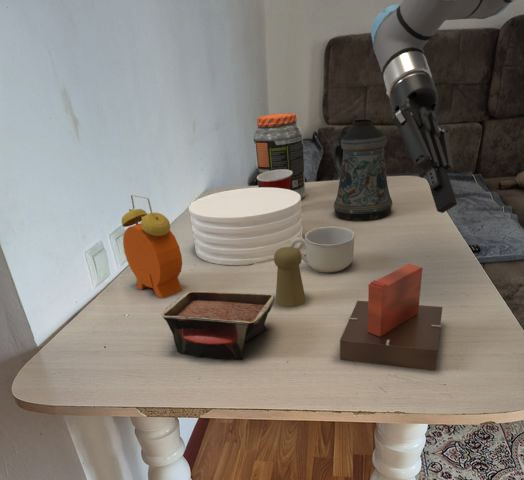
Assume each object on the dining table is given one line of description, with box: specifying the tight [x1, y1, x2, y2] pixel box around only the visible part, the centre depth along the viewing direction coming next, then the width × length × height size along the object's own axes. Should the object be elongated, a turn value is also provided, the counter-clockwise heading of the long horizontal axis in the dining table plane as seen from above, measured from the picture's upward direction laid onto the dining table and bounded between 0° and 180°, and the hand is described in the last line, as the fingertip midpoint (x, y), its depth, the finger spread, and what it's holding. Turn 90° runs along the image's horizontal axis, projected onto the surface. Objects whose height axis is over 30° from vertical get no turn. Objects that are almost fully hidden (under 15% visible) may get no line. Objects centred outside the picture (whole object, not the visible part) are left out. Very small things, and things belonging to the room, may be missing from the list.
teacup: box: [290, 225, 356, 274], centre depth 106 cm, size 14×11×8 cm
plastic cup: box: [256, 169, 293, 190], centre depth 147 cm, size 11×11×12 cm
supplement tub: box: [253, 112, 306, 200], centre depth 158 cm, size 16×16×26 cm
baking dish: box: [161, 290, 275, 361], centre depth 82 cm, size 14×18×10 cm
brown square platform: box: [339, 300, 443, 372], centre depth 77 cm, size 14×14×4 cm
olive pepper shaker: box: [273, 247, 307, 308], centre depth 92 cm, size 6×6×11 cm
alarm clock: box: [121, 194, 183, 299], centre depth 102 cm, size 13×6×20 cm, turn 45°
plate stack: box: [188, 187, 304, 266], centre depth 123 cm, size 28×28×12 cm
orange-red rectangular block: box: [367, 263, 423, 337], centre depth 74 cm, size 10×2×8 cm, turn 131°
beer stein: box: [332, 119, 393, 222], centre depth 135 cm, size 16×19×25 cm
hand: (447, 207), depth 77 cm, fingers closed
